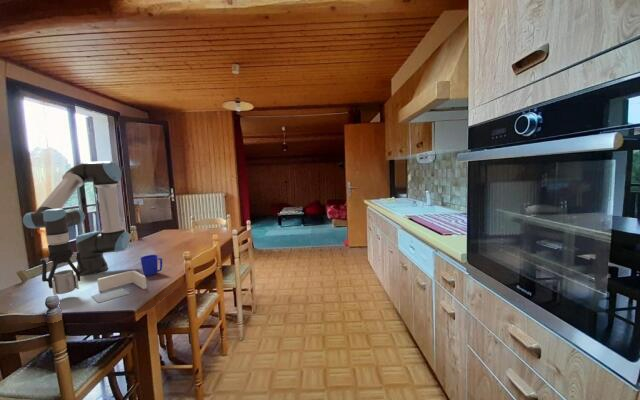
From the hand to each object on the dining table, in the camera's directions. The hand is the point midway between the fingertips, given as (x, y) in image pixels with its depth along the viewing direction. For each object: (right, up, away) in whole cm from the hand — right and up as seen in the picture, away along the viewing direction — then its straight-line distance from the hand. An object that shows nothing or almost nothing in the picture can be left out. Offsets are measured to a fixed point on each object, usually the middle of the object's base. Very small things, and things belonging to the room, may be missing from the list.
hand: (66, 291), depth 136 cm
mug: (+24, 0, +29) cm, 38 cm away
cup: (0, 0, 0) cm, 1 cm away
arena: (+21, -2, +8) cm, 22 cm away
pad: (+19, -2, +2) cm, 19 cm away
